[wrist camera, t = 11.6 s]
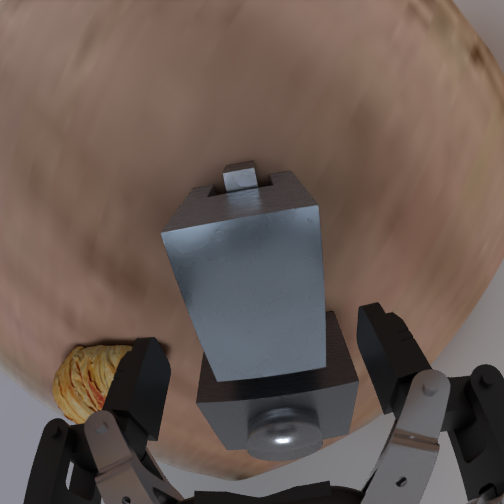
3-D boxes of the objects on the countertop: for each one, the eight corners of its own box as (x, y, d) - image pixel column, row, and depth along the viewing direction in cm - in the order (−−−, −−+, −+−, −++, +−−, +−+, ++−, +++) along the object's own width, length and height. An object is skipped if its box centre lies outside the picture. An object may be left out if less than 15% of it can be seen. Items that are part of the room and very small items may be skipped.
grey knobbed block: (159, 180, 16) (87, 241, 8) (323, 150, 16) (394, 187, 8) (229, 388, 25) (226, 470, 17) (332, 373, 25) (352, 453, 17)
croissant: (152, 298, 25) (91, 319, 17) (212, 389, 24) (171, 438, 16) (62, 367, 30) (20, 386, 22) (102, 428, 29) (65, 455, 21)
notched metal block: (193, 188, 17) (160, 233, 10) (291, 170, 16) (318, 205, 10) (224, 306, 21) (217, 381, 14) (305, 294, 20) (326, 366, 14)
